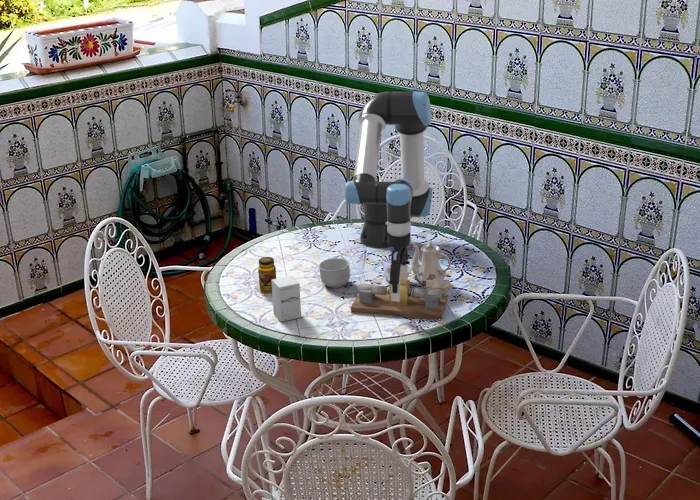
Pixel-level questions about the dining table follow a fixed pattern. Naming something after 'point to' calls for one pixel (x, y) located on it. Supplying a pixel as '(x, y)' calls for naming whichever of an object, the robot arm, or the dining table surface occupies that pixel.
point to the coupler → (402, 292)
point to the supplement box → (286, 298)
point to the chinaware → (429, 269)
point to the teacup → (334, 272)
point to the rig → (419, 305)
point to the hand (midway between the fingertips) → (399, 291)
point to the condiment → (266, 275)
